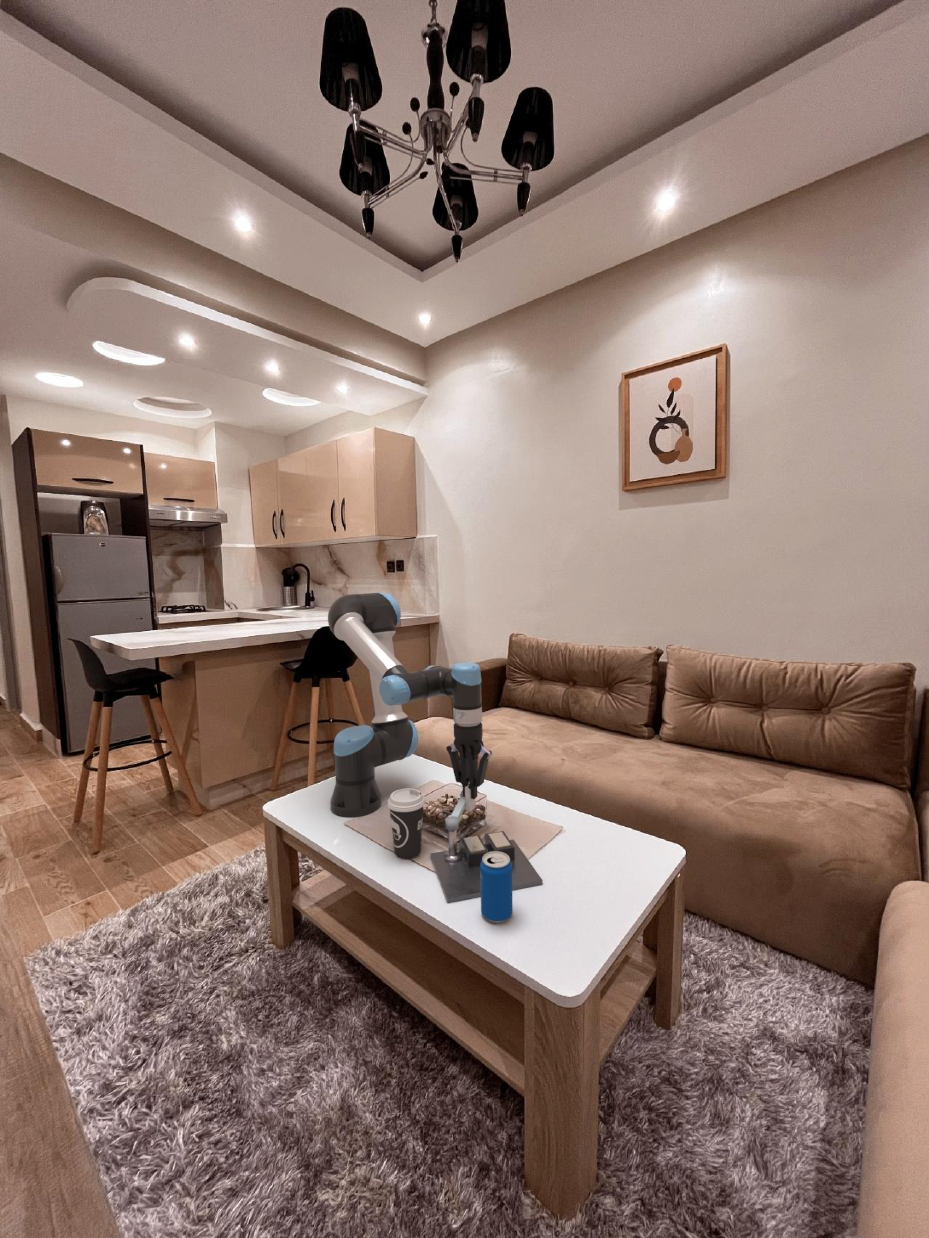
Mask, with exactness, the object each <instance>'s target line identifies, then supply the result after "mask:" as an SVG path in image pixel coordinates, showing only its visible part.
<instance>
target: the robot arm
mask: <svg viewBox="0 0 929 1238" xmlns="http://www.w3.org/2000/svg"><path fill="white" fill-rule="evenodd" d="M327 613H328V614H327V624H328V627H329V629H330V631H331V632H332V634H333V635H334V636H335V637H336V638H337V639H338V640H340V641H342V642H343V641H344V643H346V645H347V646H348V647H349V649H350V650H351V651H352V652H353V653H354V654H355V656H356V657H357V658H359V659H360V661H361V662H362V663H363V664H364V665H365V668H367V669H368V670H369V671H368V672H369V678H370V685H371V692H372V699H373V707H374V712H375V714H374V717H373V719H372V720H371V726H370V725H366V724H360V725H358V726H357V725H354V726H349V727H347V728H344V729H342V730H341V731H339V732H338V733H337V734H336V736H335V737H334V742H333V743H334V744H333V754H334V755H333V757H334V771H335V773H334V774H335V776H334V777H335V784H334V788H333V791H332V795H331V799H330V811H331V812H332V813H333V814H334V815H337V816H340V817H346V818H347V817H349V818H353V817H354V818H355V817H363V816H366V815H370V814H371V813H373V812H375V811H376V810H378V809H379V808H380V807H381V806H382V794H381V791H380V789H379V786H378V783H377V781H376V777H375V775H376V774H375V773H376V771H375V768H377V767H381V766H384V765H387V764H390V763H393V762H397V761H403V760H404V759H406V758H409V757H411V756H412V755H413V754H414V753H415V751H416V750H417V748H418V745H419V732H418V728H417V726H416V725H415V723H414V722H413V721H412V720H410V719H409V716H408V715H407V714H406V713H405V712H404V711H403V707H402V706H403V705H405V704H408V703H411V702H415V701H420V700H426V699H430V698H433V697H434V698H435V697H439V696H446V697H449V698H452V708H453V709H452V710H453V711H452V712H453V714H452V715H453V722H454V724H453V737H454V740H453V743H450V744H449V745H447V746H446V749H445V750H446V751H447V753H448V755H449V759H450V762H451V766H452V770H453V775H454V779H455V782H456V783H460V784H461V786H462V790H463V797H465V803H466V807H465V811H466V812H469V813H471V812H472V811H473V810H474V809H475V808H476V799H477V798H478V788H479V787H480V786H482V785H483V784H484V783H485V778H486V774H487V768H488V765H489V759H490V757H491V756H492V754H493V751H492V750H490V749H489V750H487V748H485V744H484V741H483V723H482V721H483V710H482V709H483V707H482V704H483V703H482V700H483V699H482V675H481V667H480V665H479V664H478V663H475V662H458V663H455V664H453V665H452V666H451V668H450V667H445V666H442V665H429V666H427V667H426V668H424V669H422V670H418V671H417V670H416V671H411V672H410V671H409V670H408V669H407V668H406V667H405V666H404V665H403V664H402V663H401V662H400V661H399V660H398V659H397V658H396V656H395V649H394V643H393V637H394V636H395V634H396V632H397V631H396V628H397V627H398V626H399V625H400V623H401V619H402V615H401V614H402V612H401V608H400V605H399V602H398V601H397V600H396V598H395V597H394V596H393V595H392V594H390V593H388V592H387V593H386V592H372V593H356V594H354V593H353V594H352V593H351V594H350V593H349V594H344V595H341V596H340V597H339V598H337V599H336V600H334V602H332V604H331V606H330V607H329V609H328V612H327ZM479 755H480V757H481V758H480V759H479ZM478 761H479V762H478ZM478 763H479V765H478Z"/></svg>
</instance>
